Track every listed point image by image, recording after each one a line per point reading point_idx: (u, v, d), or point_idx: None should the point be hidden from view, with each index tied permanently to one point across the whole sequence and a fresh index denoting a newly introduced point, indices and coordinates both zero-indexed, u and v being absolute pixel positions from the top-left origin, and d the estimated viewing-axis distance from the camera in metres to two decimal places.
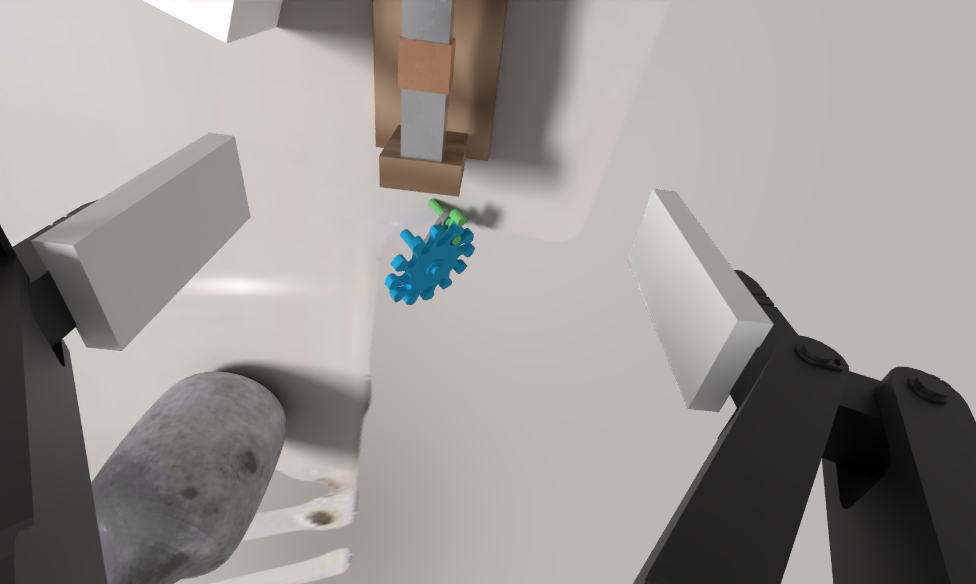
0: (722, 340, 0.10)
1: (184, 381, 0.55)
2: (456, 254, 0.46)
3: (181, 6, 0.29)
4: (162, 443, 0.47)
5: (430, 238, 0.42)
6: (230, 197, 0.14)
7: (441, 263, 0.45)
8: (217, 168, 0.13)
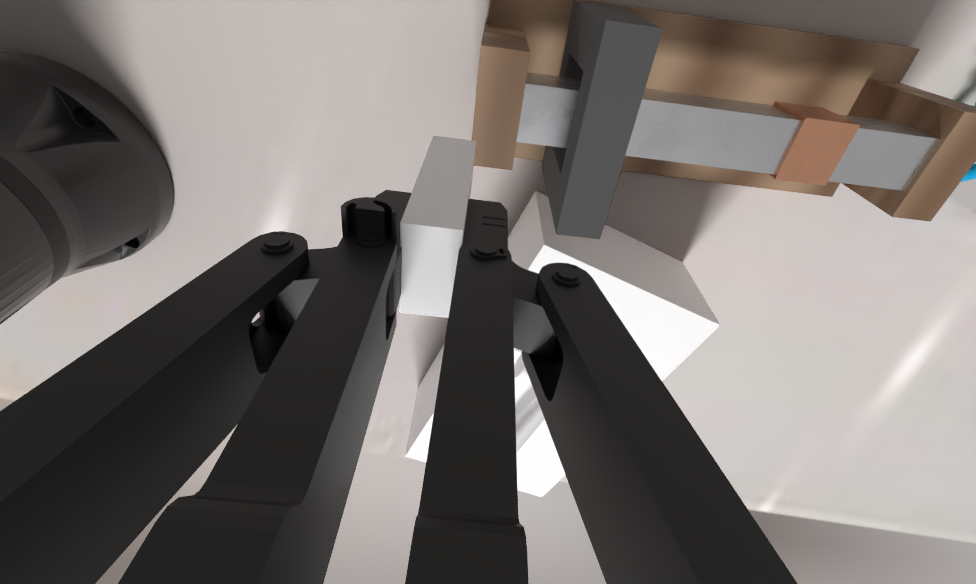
0: (430, 247, 0.11)
1: None
2: None
3: (684, 348, 0.35)
4: None
5: None
6: None
7: None
8: None
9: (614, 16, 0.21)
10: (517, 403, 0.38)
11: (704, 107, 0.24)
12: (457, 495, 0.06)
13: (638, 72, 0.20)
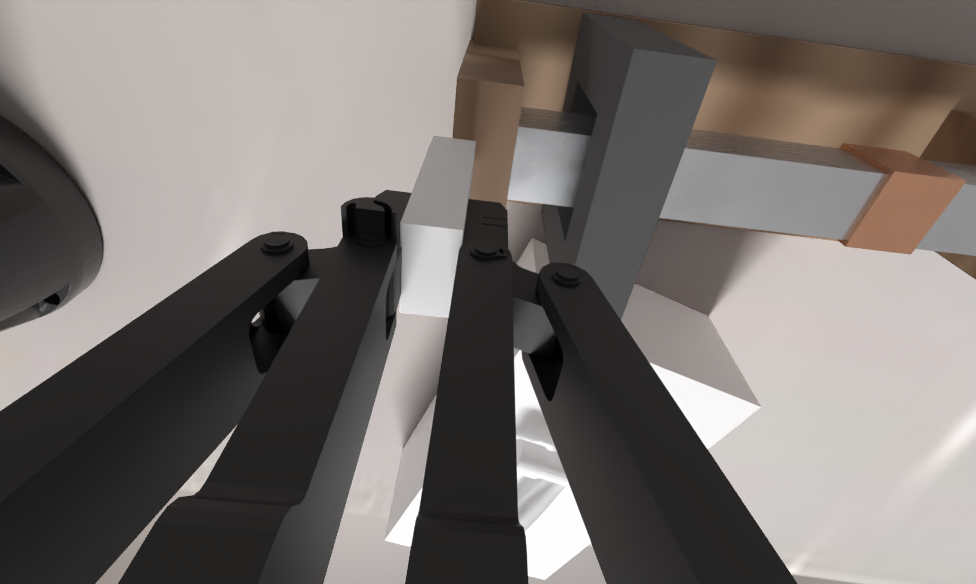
0: (430, 247, 0.11)
1: None
2: None
3: (715, 431, 0.28)
4: None
5: None
6: None
7: None
8: None
9: (642, 39, 0.15)
10: None
11: (758, 157, 0.18)
12: (457, 495, 0.06)
13: (678, 121, 0.14)
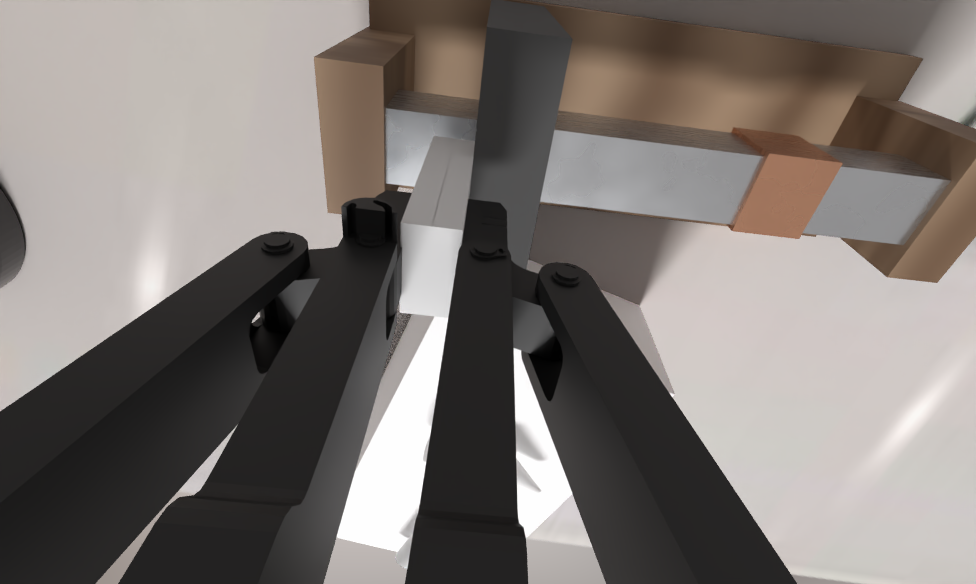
0: (430, 247, 0.11)
1: None
2: None
3: None
4: None
5: None
6: None
7: None
8: None
9: (515, 20, 0.15)
10: None
11: (632, 139, 0.18)
12: (457, 496, 0.06)
13: (543, 102, 0.14)
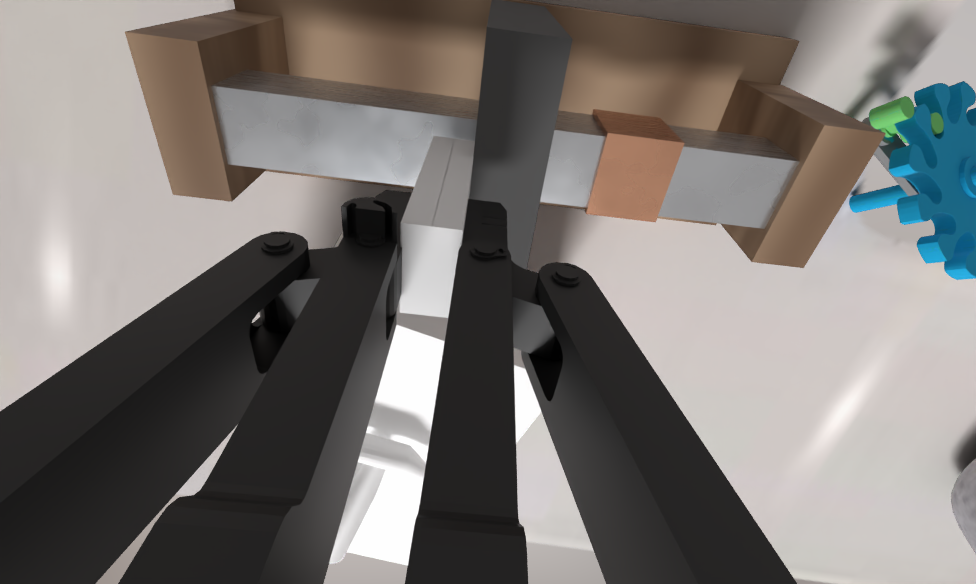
0: (430, 247, 0.11)
1: (960, 513, 0.40)
2: (962, 126, 0.23)
3: (528, 409, 0.28)
4: None
5: (911, 177, 0.23)
6: None
7: (970, 162, 0.23)
8: None
9: (515, 21, 0.15)
10: None
11: (468, 118, 0.18)
12: (457, 496, 0.06)
13: (543, 102, 0.14)
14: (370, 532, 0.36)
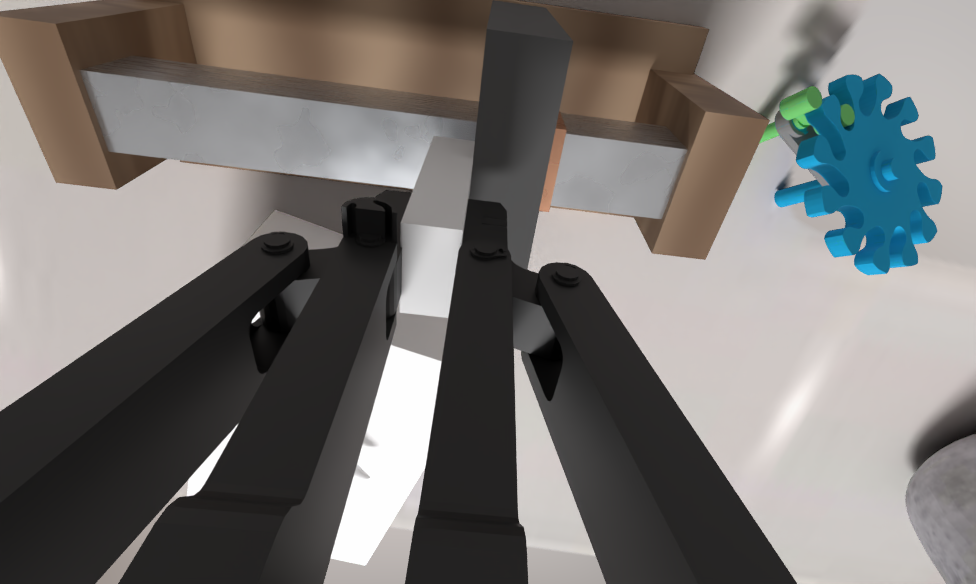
0: (430, 247, 0.11)
1: (912, 513, 0.40)
2: (875, 118, 0.23)
3: None
4: None
5: (819, 169, 0.22)
6: None
7: (881, 156, 0.23)
8: None
9: (515, 22, 0.15)
10: None
11: (345, 104, 0.17)
12: (457, 496, 0.06)
13: (543, 104, 0.14)
14: None
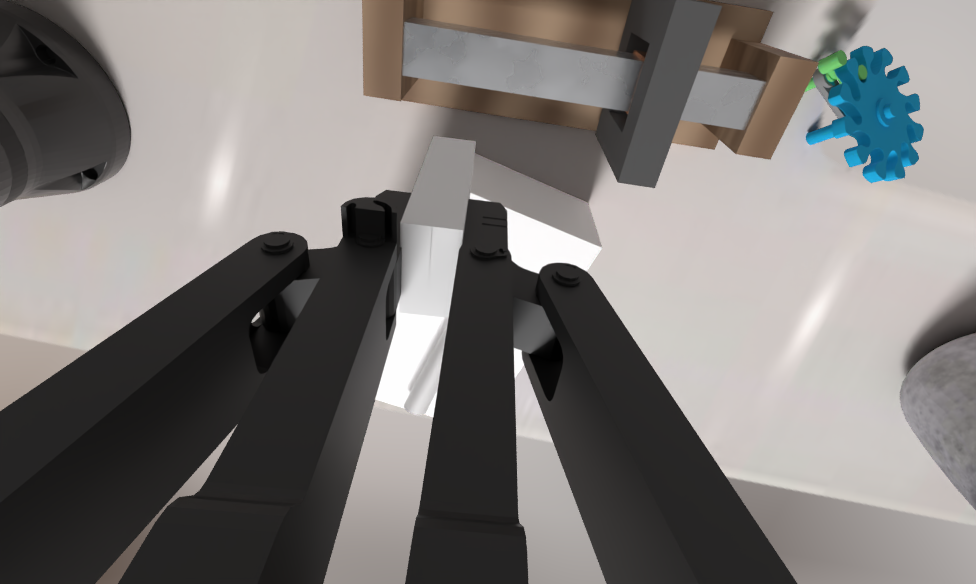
0: (430, 247, 0.11)
1: (904, 403, 0.51)
2: (880, 77, 0.34)
3: None
4: None
5: (842, 107, 0.33)
6: None
7: (883, 101, 0.34)
8: None
9: None
10: (437, 333, 0.42)
11: (559, 47, 0.29)
12: (457, 495, 0.06)
13: (699, 42, 0.25)
14: None
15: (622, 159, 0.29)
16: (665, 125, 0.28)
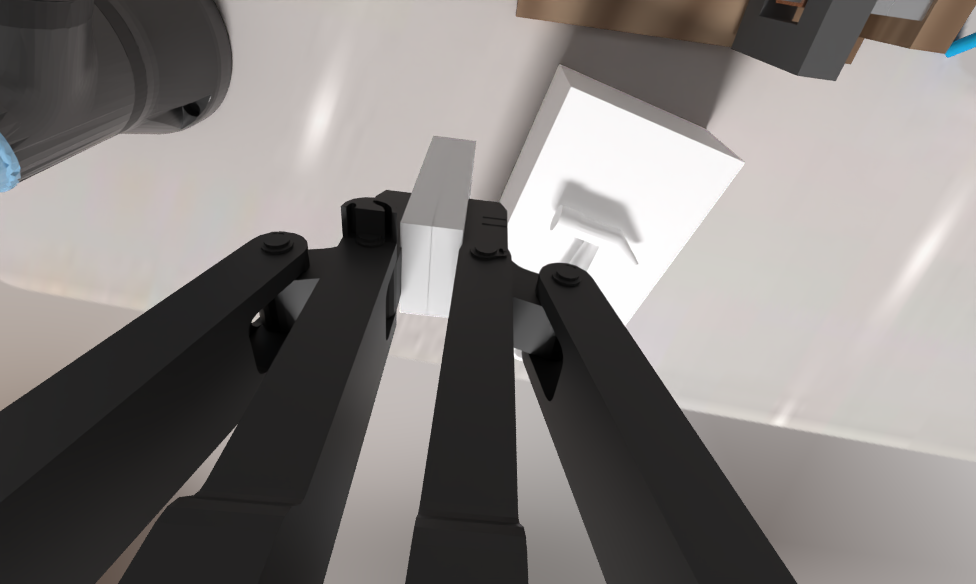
0: (430, 247, 0.11)
1: None
2: None
3: (712, 192, 0.36)
4: None
5: None
6: None
7: None
8: None
9: None
10: None
11: None
12: (457, 496, 0.06)
13: None
14: None
15: (803, 50, 0.28)
16: (861, 5, 0.26)
